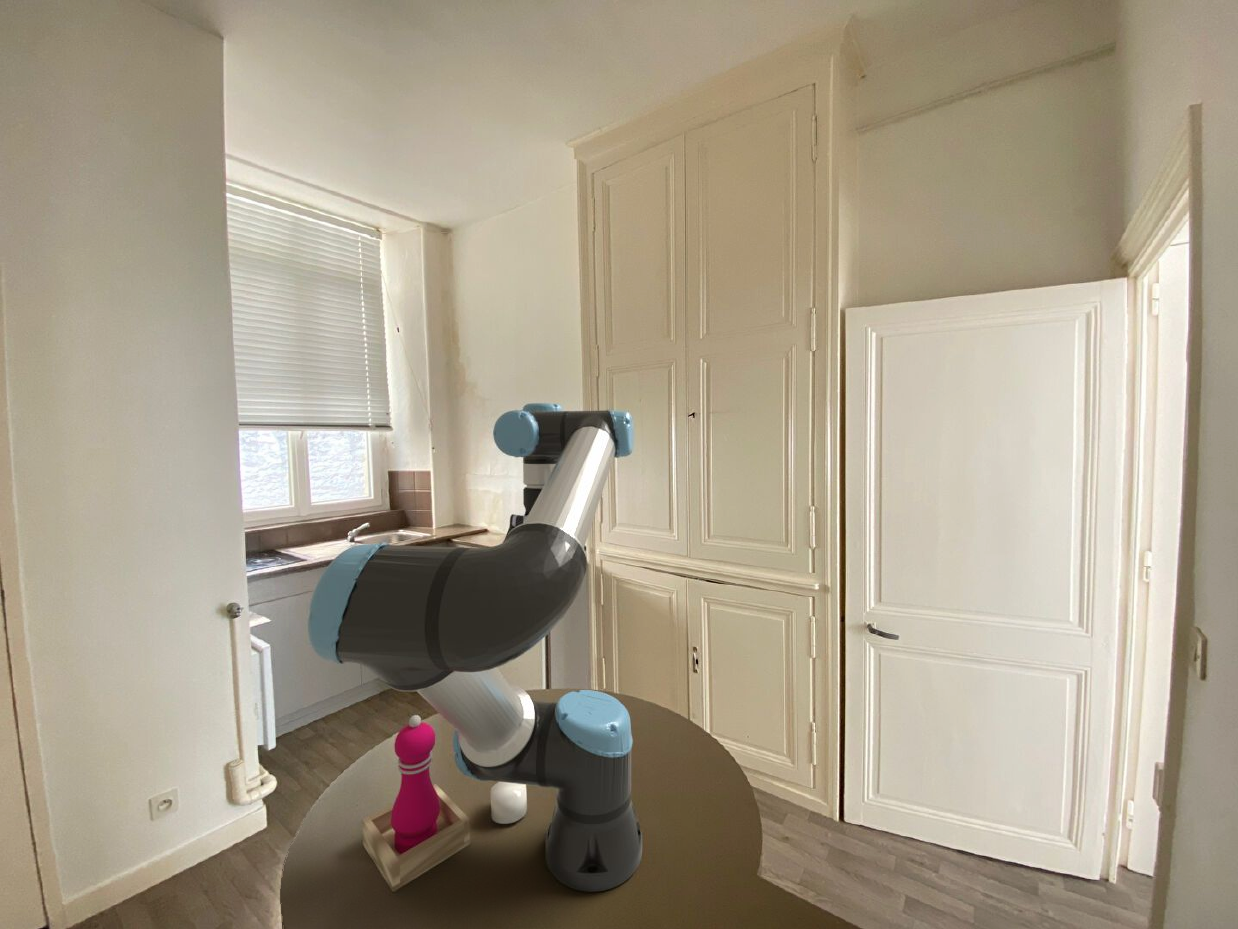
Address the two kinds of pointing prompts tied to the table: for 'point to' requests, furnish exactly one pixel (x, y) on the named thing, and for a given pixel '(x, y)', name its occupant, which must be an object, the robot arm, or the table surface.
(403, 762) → the pepper mill
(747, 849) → the table surface
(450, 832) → the tray
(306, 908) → the table surface
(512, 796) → the white egg-shaped pebble
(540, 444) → the robot arm
